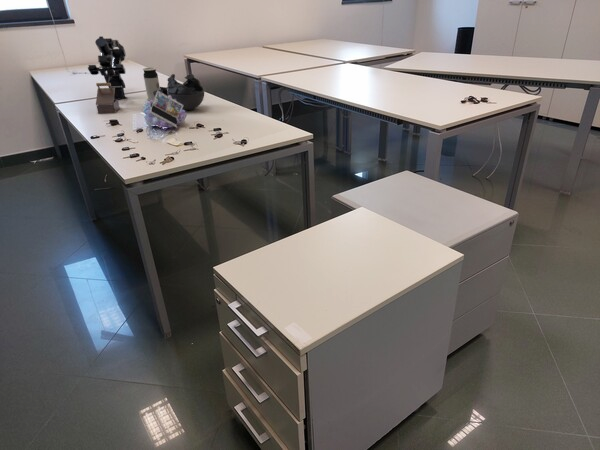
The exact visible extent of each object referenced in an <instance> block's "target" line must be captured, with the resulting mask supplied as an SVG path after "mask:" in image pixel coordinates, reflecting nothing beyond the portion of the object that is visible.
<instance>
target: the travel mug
mask: <svg viewBox="0 0 600 450" xmlns="http://www.w3.org/2000/svg"><path fill="white" fill-rule="evenodd" d="M142 70H143V80H144V85H145V86H144V87H145V91H146V96H147V101H150V100H153V99H154V94H153V92H154V91H156V90H160V87H161V86H160V81H159V75H158V72H157V68H156V67H144V68H142Z"/></svg>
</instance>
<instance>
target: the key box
mask: <svg viewBox="0 0 600 450" xmlns="http://www.w3.org/2000/svg"><path fill="white" fill-rule="evenodd" d="M95 105H96V104H95ZM119 109H120V103H119V100H118V99H114V104H102V105H96V110H97V114H100V115H102V114H117V112H118V111H119Z"/></svg>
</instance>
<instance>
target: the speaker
mask: <svg viewBox="0 0 600 450" xmlns="http://www.w3.org/2000/svg"><path fill="white" fill-rule="evenodd" d="M159 87H160V90H158V91H160V92H162V93H163V94H165V95H167V92H168V90H167V87H164V86H159ZM156 93H157V90H156V91H154V92H153V94H154V97H155V95H156ZM167 96H168V95H167Z"/></svg>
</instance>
